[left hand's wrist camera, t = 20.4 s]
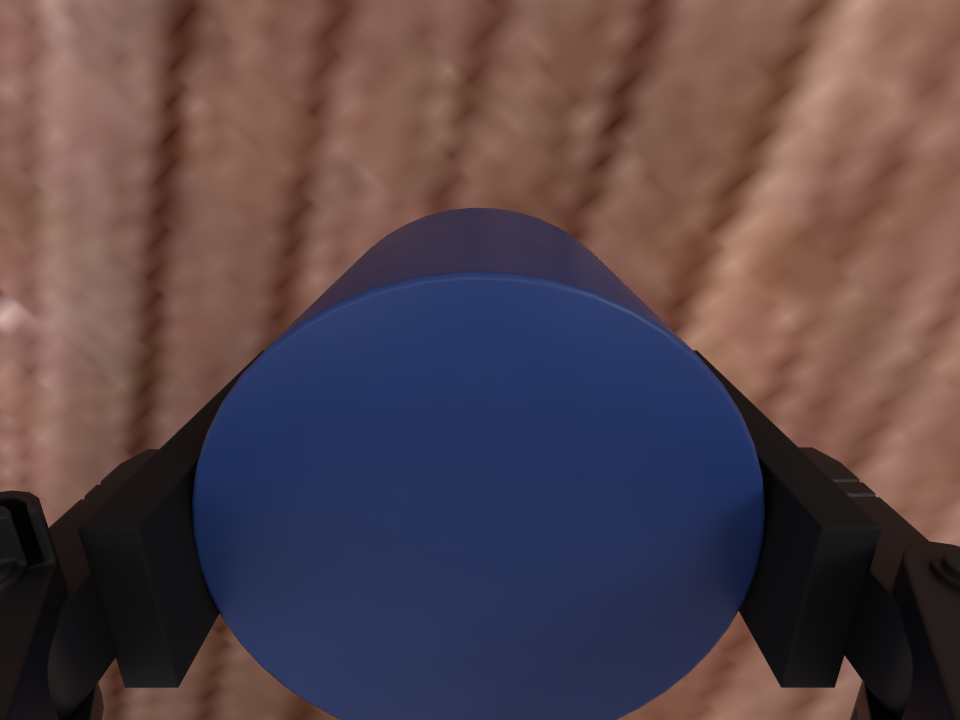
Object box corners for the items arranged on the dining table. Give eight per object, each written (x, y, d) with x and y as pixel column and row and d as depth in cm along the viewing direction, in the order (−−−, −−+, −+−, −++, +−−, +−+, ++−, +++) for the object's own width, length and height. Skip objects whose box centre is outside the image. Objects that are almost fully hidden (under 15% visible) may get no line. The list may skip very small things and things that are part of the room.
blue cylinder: (276, 427, 16) (120, 646, 9) (402, 142, 14) (319, 143, 7) (538, 541, 18) (577, 806, 11) (698, 303, 15) (894, 446, 8)
